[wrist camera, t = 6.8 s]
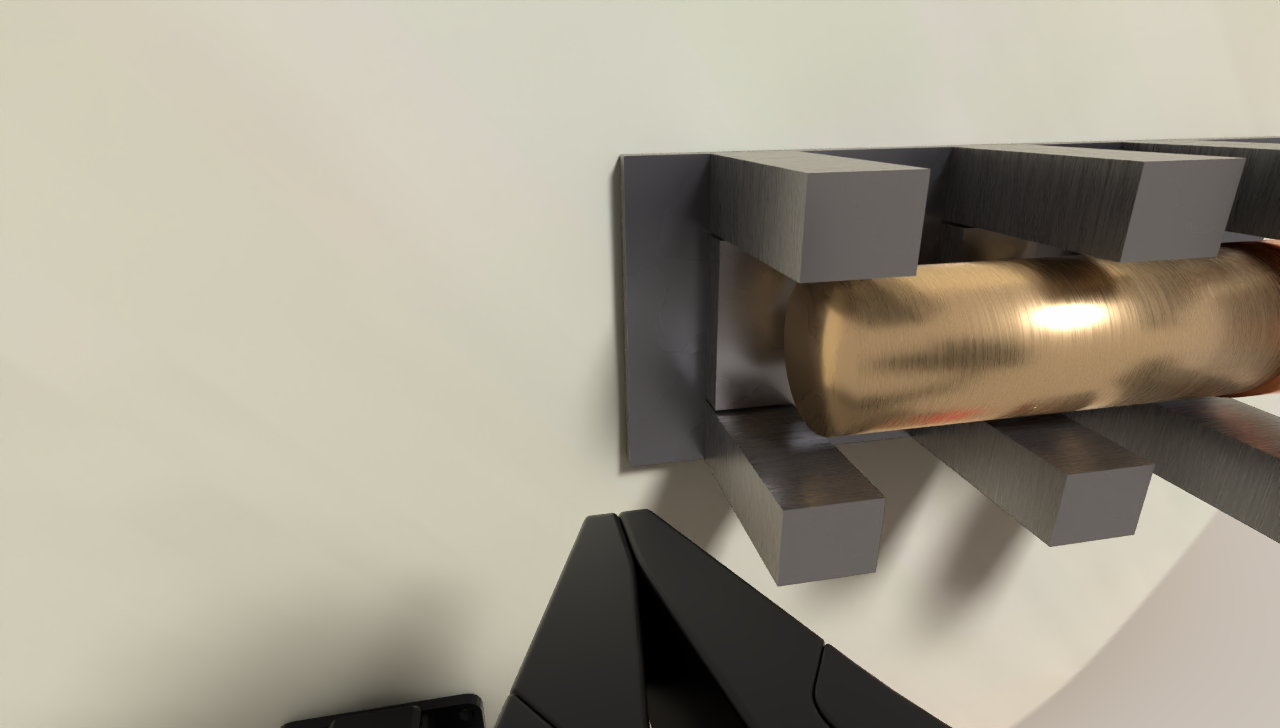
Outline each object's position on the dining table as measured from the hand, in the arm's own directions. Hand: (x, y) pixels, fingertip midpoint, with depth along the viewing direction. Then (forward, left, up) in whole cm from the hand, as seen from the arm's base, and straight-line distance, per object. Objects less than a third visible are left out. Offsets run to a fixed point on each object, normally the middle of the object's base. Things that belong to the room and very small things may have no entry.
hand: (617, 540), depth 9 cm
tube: (0, -13, -9) cm, 16 cm away
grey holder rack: (0, -12, -11) cm, 16 cm away
